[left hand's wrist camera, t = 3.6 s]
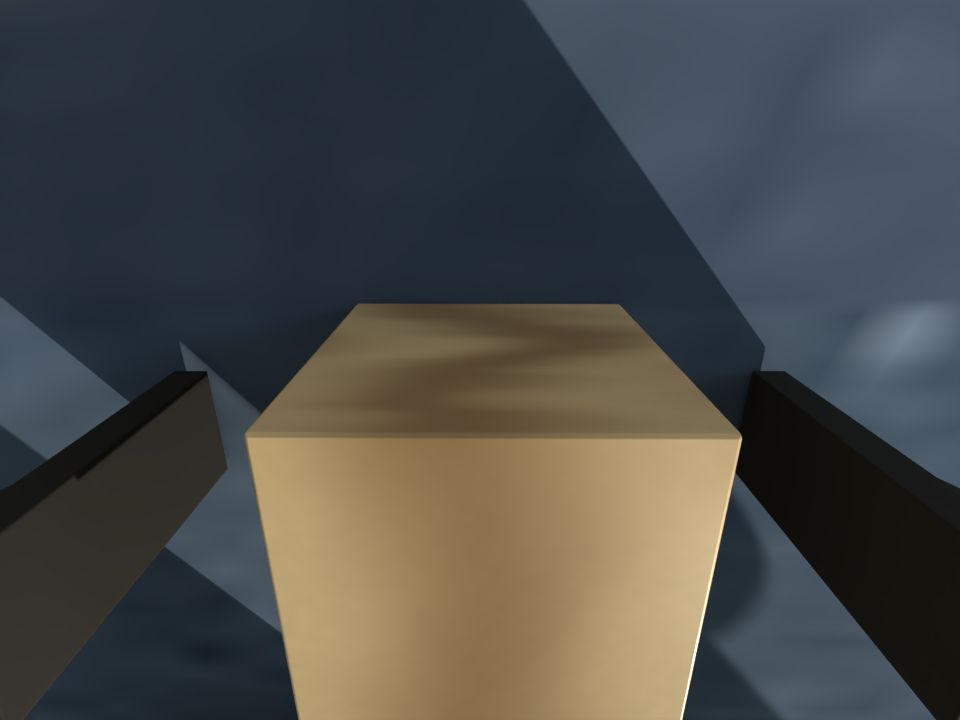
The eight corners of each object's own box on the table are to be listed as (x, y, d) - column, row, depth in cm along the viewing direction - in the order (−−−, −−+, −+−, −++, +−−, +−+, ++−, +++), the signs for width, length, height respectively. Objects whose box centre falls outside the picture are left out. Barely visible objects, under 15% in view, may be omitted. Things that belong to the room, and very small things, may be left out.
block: (619, 302, 12) (745, 434, 6) (597, 518, 14) (675, 761, 8) (357, 302, 12) (241, 434, 6) (376, 517, 14) (303, 759, 8)
